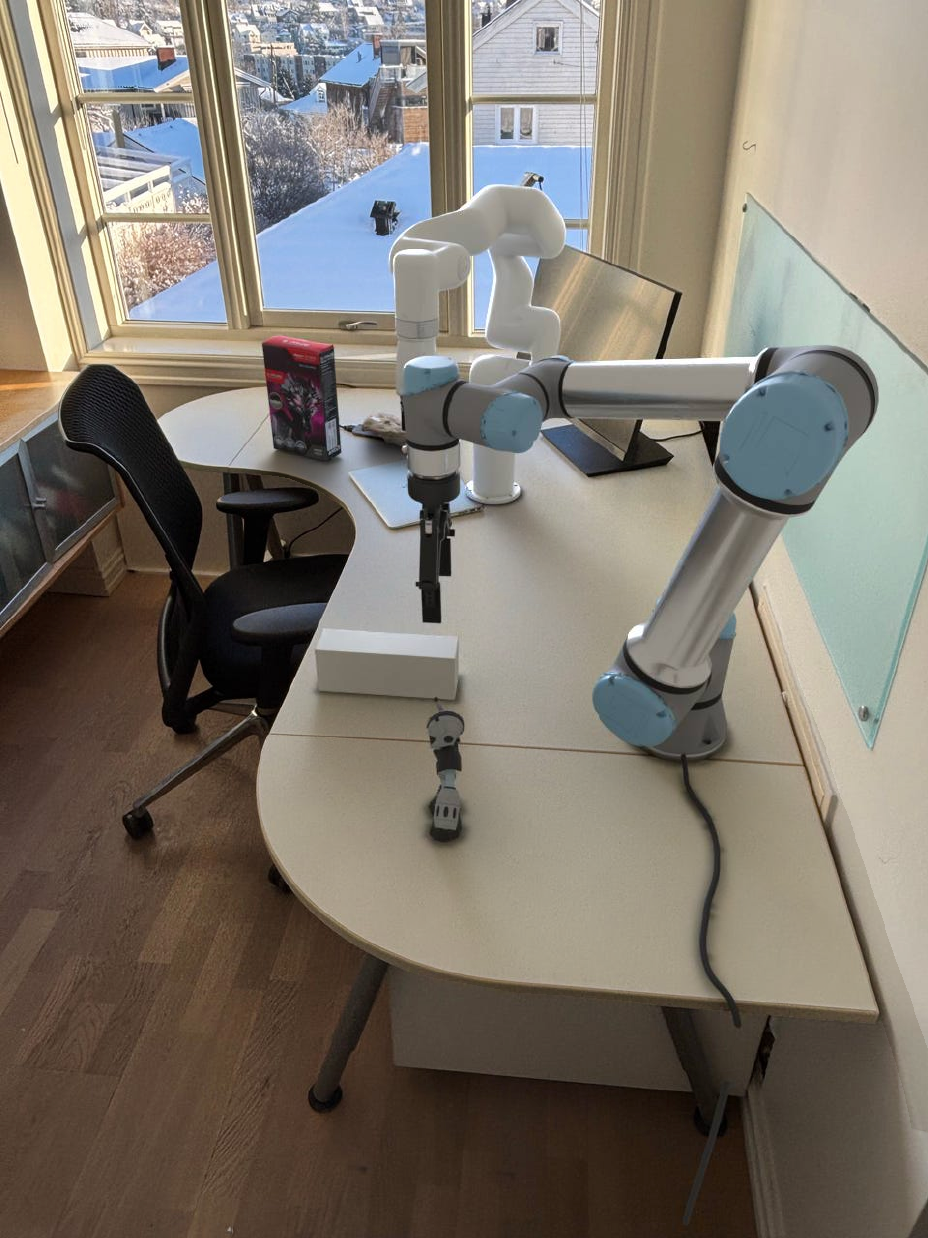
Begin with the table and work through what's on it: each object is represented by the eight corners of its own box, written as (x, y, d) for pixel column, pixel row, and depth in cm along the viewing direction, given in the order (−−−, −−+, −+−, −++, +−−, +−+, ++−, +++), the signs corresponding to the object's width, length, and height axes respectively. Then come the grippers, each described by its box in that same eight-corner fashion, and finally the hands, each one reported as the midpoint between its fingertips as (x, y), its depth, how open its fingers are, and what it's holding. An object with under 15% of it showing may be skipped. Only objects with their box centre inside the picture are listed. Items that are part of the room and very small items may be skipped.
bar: (458, 677, 154) (458, 636, 149) (454, 700, 149) (455, 658, 144) (326, 669, 156) (323, 628, 151) (318, 690, 151) (314, 649, 146)
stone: (345, 437, 230) (349, 413, 227) (367, 428, 243) (371, 405, 241) (423, 461, 226) (429, 437, 224) (441, 451, 239) (446, 428, 237)
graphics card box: (271, 449, 231) (258, 341, 215) (288, 440, 236) (276, 333, 220) (327, 463, 224) (318, 352, 209) (343, 453, 229) (336, 344, 214)
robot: (467, 874, 119) (468, 759, 108) (429, 876, 119) (427, 760, 108) (460, 769, 135) (460, 659, 124) (426, 770, 135) (424, 660, 124)
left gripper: (412, 311, 166) (414, 402, 176) (379, 339, 153) (383, 436, 162) (452, 315, 165) (451, 406, 174) (423, 343, 151) (424, 441, 160)
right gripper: (419, 435, 141) (424, 556, 152) (392, 507, 120) (400, 642, 131) (468, 436, 140) (469, 558, 152) (450, 509, 119) (453, 644, 131)
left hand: (419, 421), depth 168 cm, fingers open, 9 cm apart
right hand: (437, 597), depth 142 cm, fingers open, 13 cm apart
